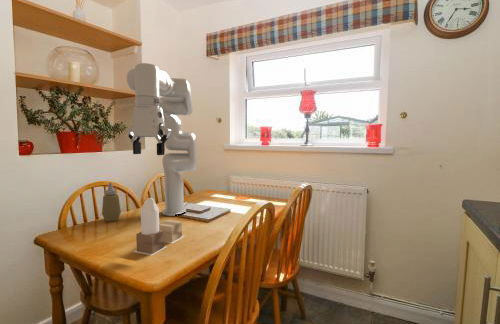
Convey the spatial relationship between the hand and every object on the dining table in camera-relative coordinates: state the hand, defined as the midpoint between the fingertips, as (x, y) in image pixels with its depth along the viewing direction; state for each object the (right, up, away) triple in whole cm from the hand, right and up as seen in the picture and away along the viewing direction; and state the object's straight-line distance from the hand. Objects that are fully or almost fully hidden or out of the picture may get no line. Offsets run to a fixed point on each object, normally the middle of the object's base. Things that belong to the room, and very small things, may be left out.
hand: (148, 154), depth 94 cm
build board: (+1, -34, +8) cm, 35 cm away
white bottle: (0, -27, +3) cm, 27 cm away
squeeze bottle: (-32, -31, +39) cm, 59 cm away
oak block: (+3, -32, +13) cm, 35 cm away
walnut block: (0, -33, +3) cm, 33 cm away
